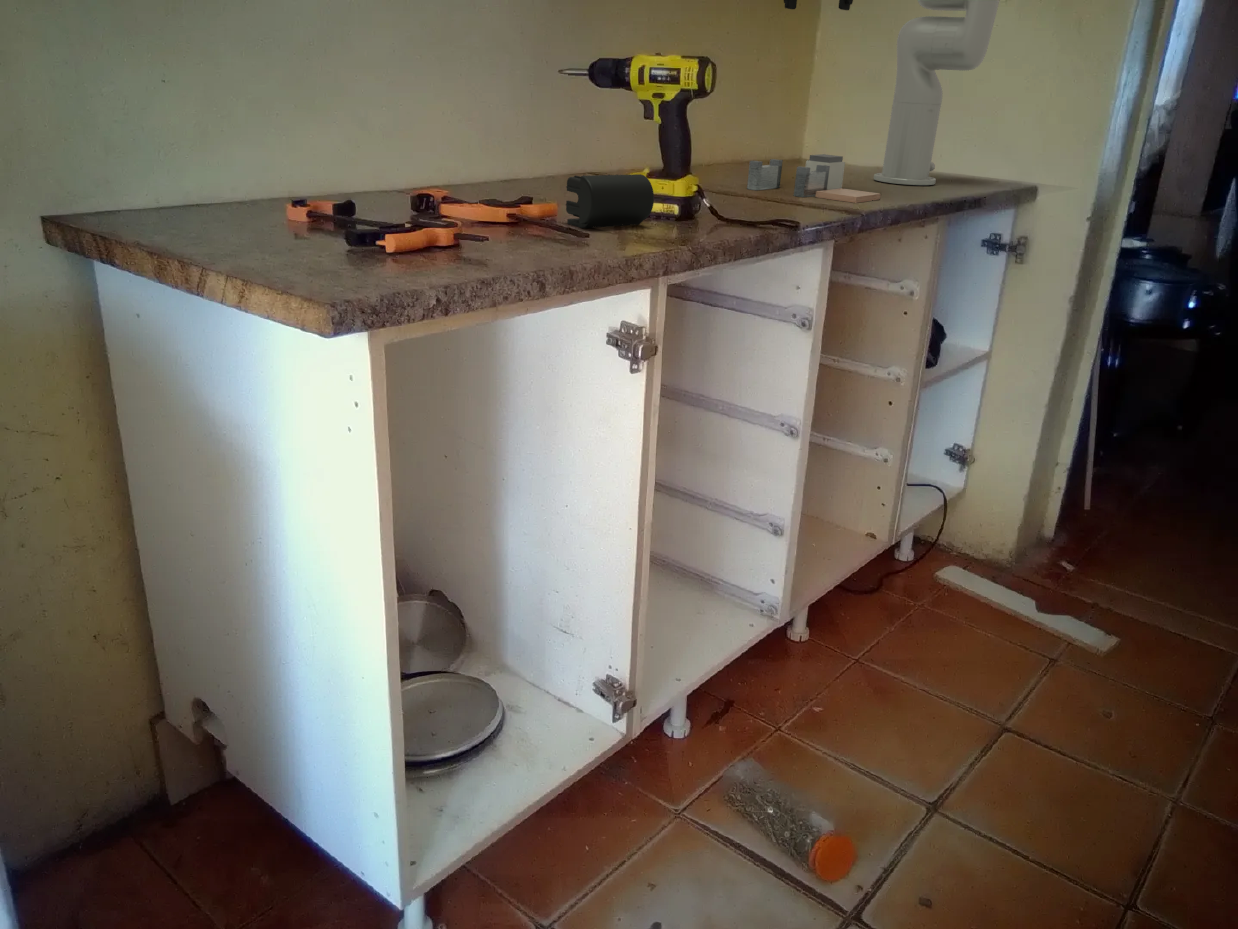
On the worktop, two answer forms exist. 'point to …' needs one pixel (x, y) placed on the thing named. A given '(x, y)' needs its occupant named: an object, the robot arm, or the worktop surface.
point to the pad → (848, 195)
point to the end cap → (609, 200)
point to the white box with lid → (834, 171)
